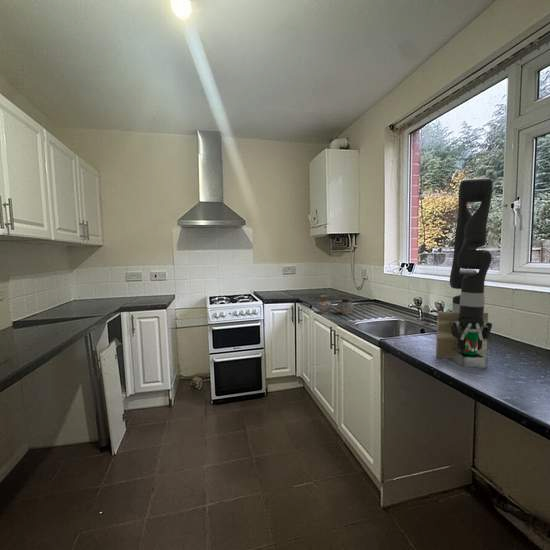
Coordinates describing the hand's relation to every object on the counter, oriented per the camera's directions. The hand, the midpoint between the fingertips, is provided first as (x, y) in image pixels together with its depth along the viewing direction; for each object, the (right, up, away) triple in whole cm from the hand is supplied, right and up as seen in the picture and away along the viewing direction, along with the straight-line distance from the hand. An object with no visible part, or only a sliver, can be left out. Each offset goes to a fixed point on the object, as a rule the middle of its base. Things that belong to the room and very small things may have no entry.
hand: (469, 349), depth 113 cm
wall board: (+1, -5, +6) cm, 8 cm away
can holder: (0, -5, 0) cm, 5 cm away
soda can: (0, -4, 0) cm, 4 cm away
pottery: (-32, +1, +92) cm, 97 cm away
